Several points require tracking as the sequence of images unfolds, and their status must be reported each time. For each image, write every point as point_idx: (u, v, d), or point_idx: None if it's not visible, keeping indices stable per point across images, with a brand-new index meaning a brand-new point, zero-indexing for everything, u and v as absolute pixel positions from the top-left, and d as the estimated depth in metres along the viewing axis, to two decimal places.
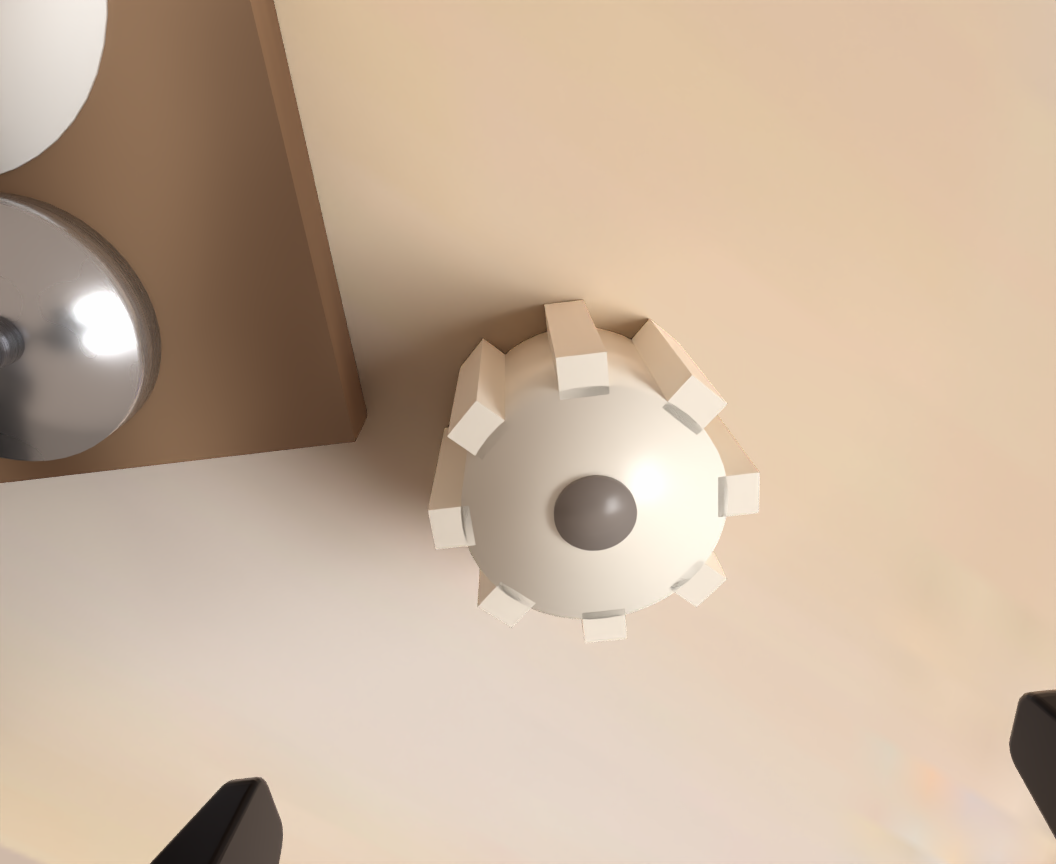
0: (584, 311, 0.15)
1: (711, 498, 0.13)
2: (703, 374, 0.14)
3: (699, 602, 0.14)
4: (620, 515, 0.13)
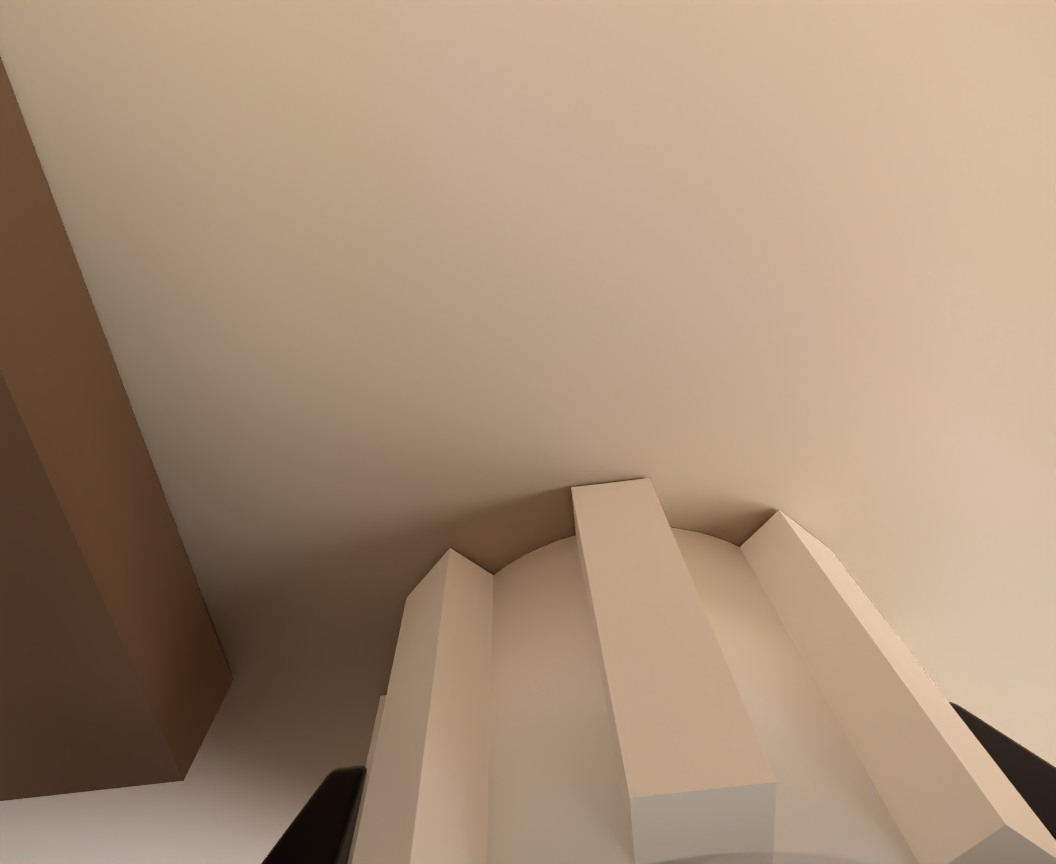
0: (661, 528, 0.07)
1: None
2: (946, 702, 0.06)
3: None
4: None
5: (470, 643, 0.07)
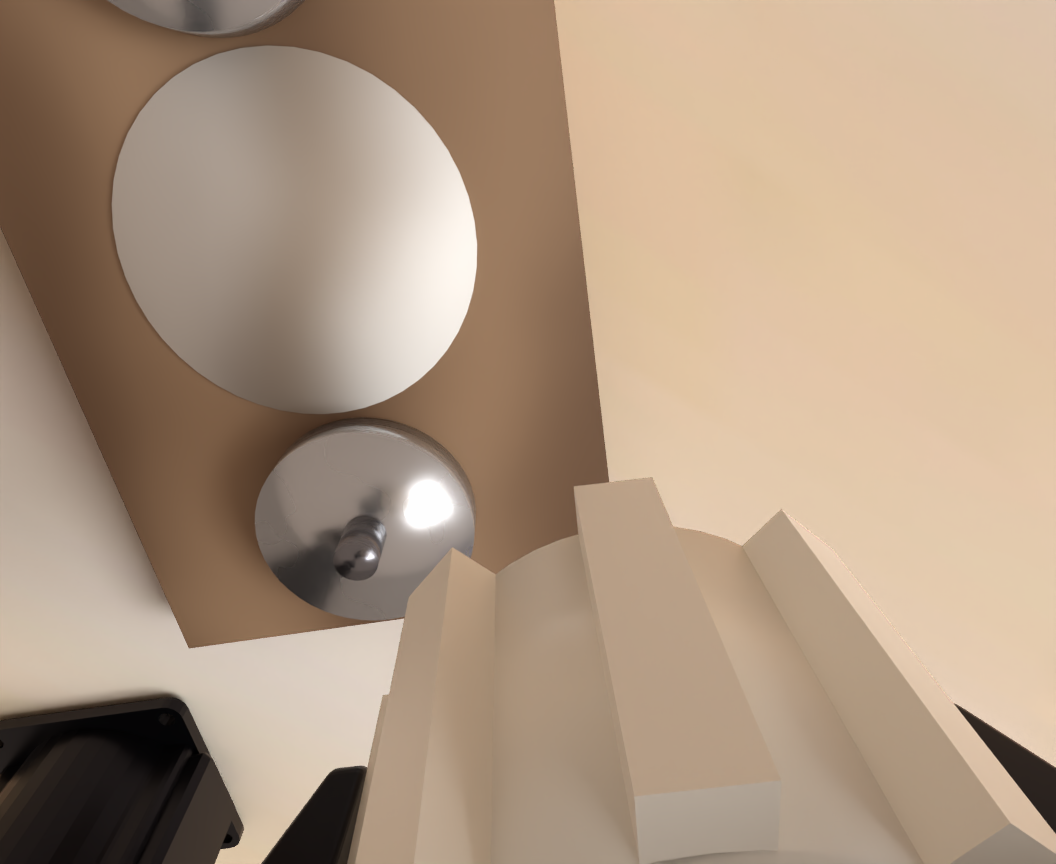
0: (664, 527, 0.07)
1: None
2: (950, 701, 0.06)
3: None
4: None
5: (473, 642, 0.07)
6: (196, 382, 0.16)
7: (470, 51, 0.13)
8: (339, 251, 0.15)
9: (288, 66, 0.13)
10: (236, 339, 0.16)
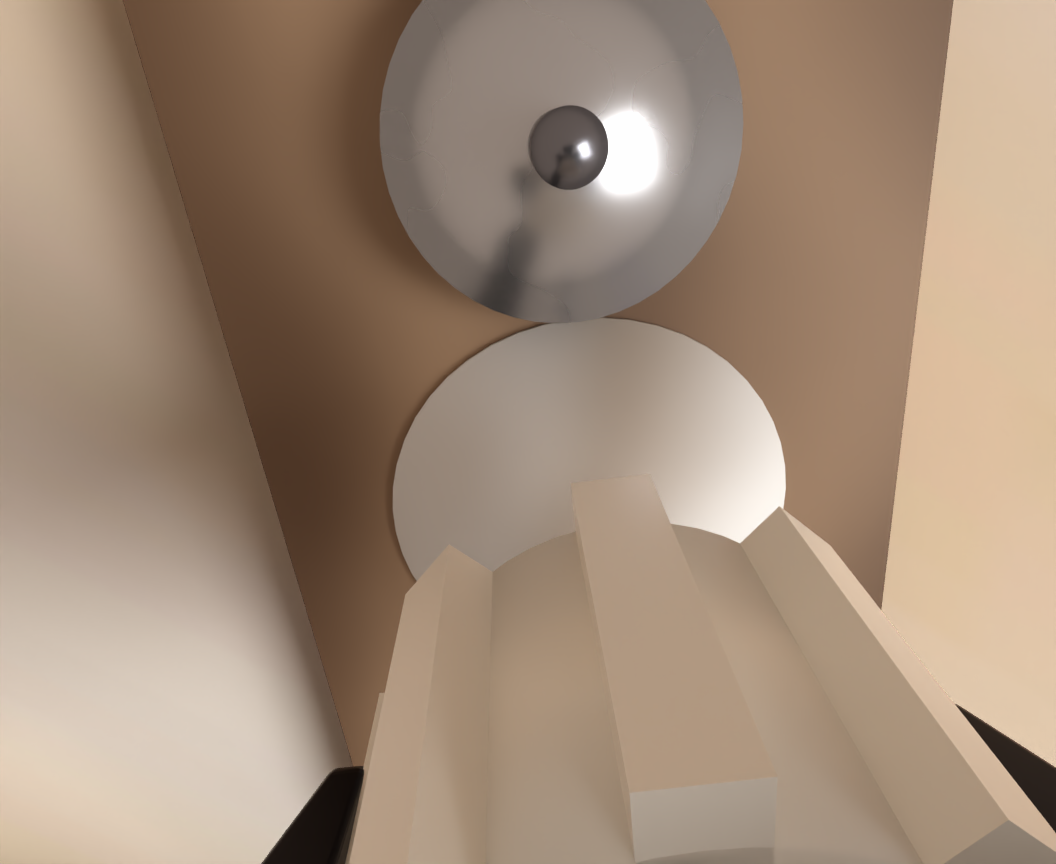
0: (661, 523, 0.07)
1: None
2: (948, 698, 0.06)
3: None
4: None
5: (469, 639, 0.07)
6: None
7: (818, 327, 0.12)
8: None
9: (617, 336, 0.12)
10: None
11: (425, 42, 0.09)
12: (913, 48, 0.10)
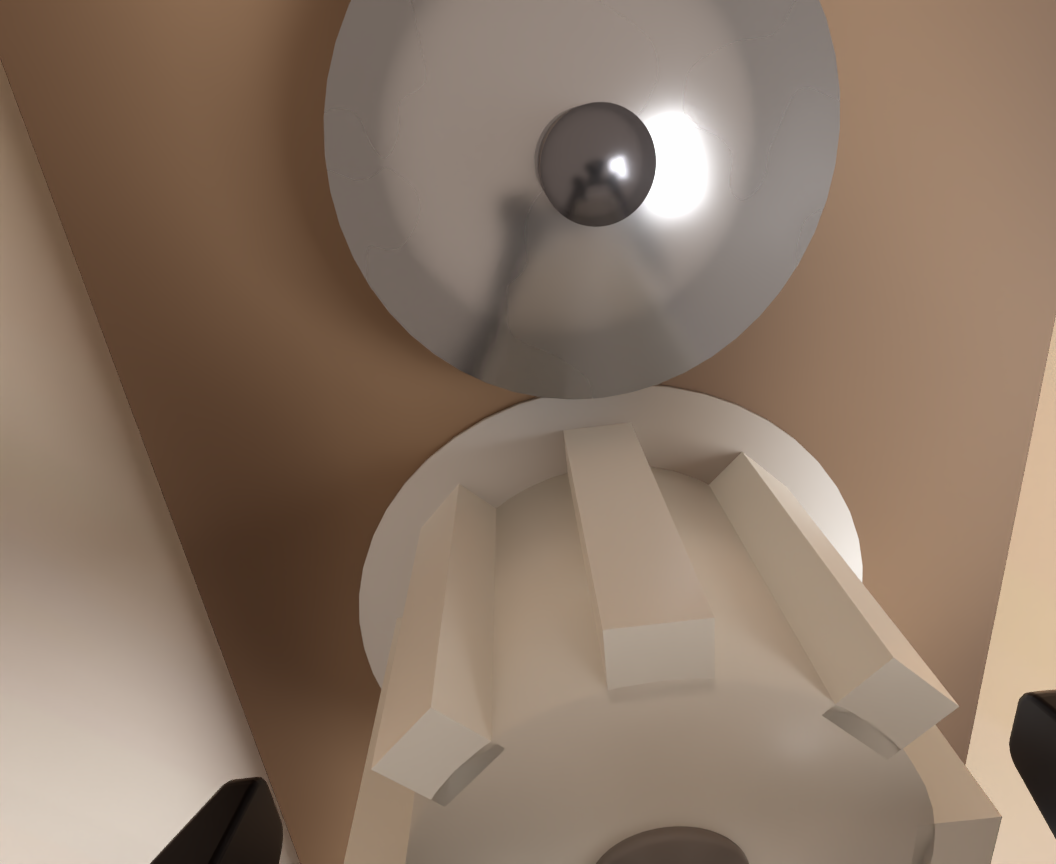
0: (638, 458, 0.08)
1: (899, 857, 0.07)
2: (869, 594, 0.07)
3: None
4: None
5: (477, 555, 0.08)
6: None
7: (914, 395, 0.09)
8: None
9: (650, 408, 0.09)
10: None
11: (386, 10, 0.06)
12: None
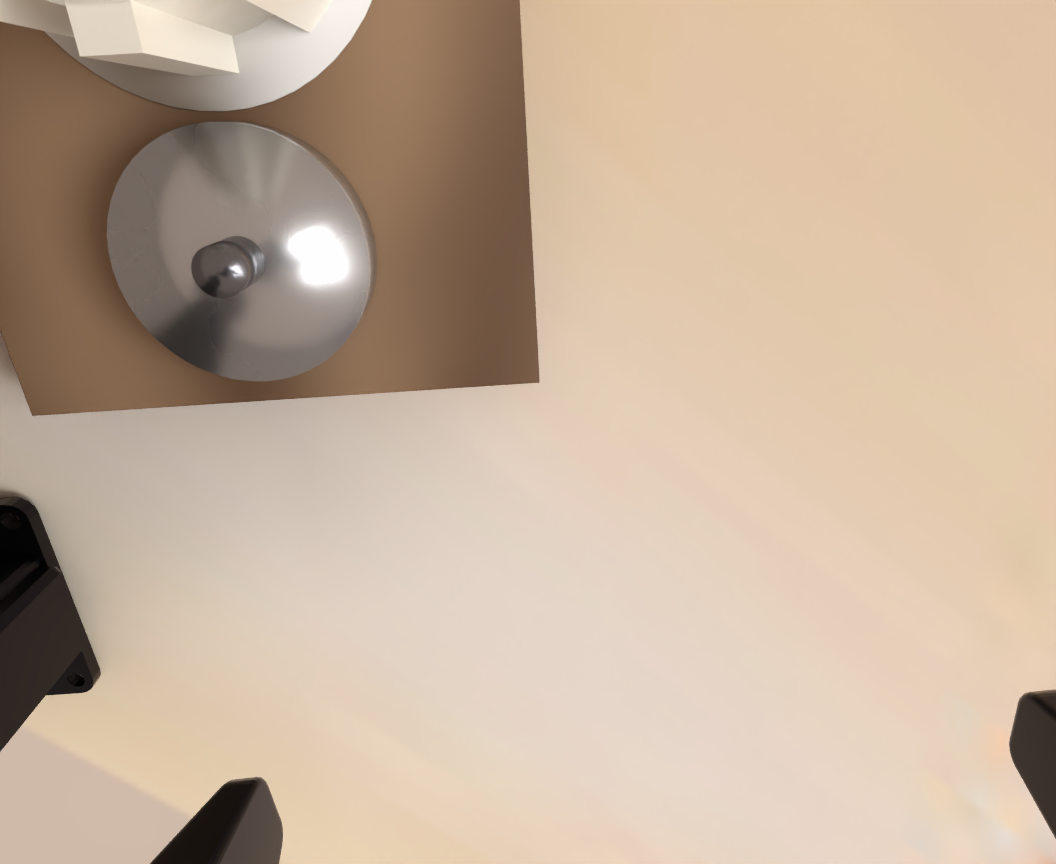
0: None
1: None
2: None
3: None
4: None
5: None
6: (47, 51, 0.13)
7: None
8: None
9: None
10: None
11: None
12: None
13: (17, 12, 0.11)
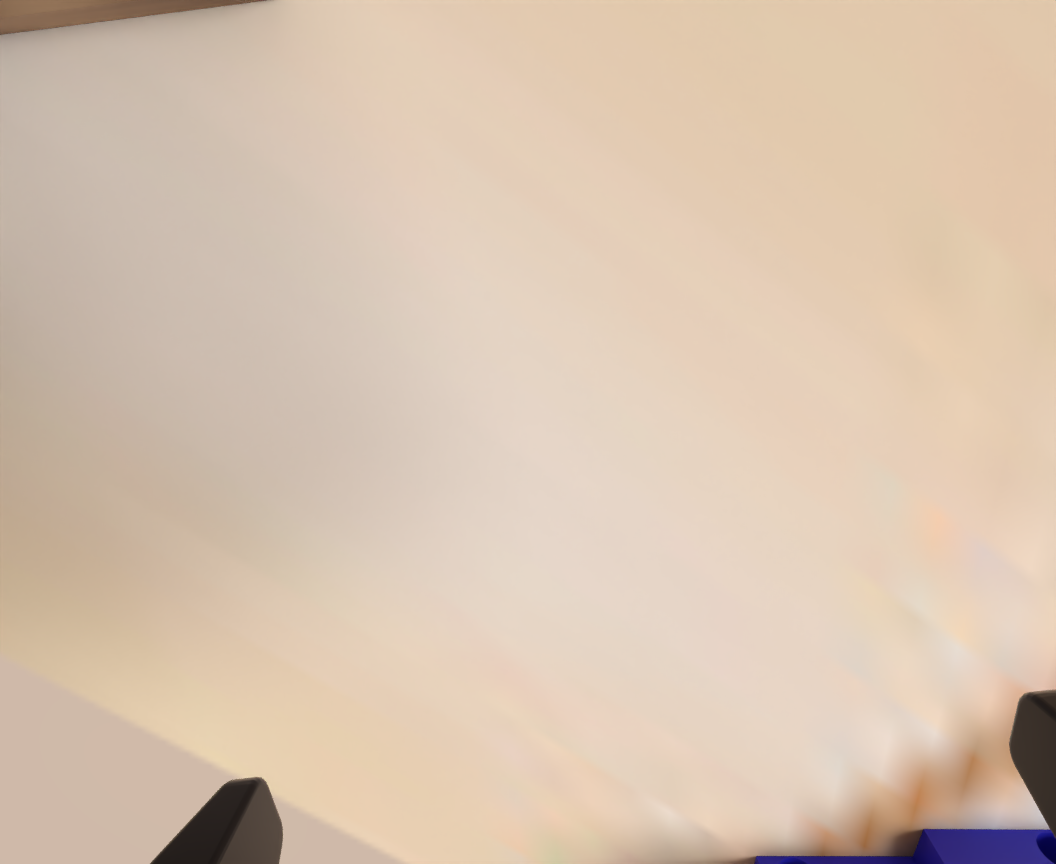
0: None
1: None
2: None
3: None
4: None
5: None
6: None
7: None
8: None
9: None
10: None
11: None
12: None
13: None
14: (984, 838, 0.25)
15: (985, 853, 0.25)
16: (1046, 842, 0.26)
